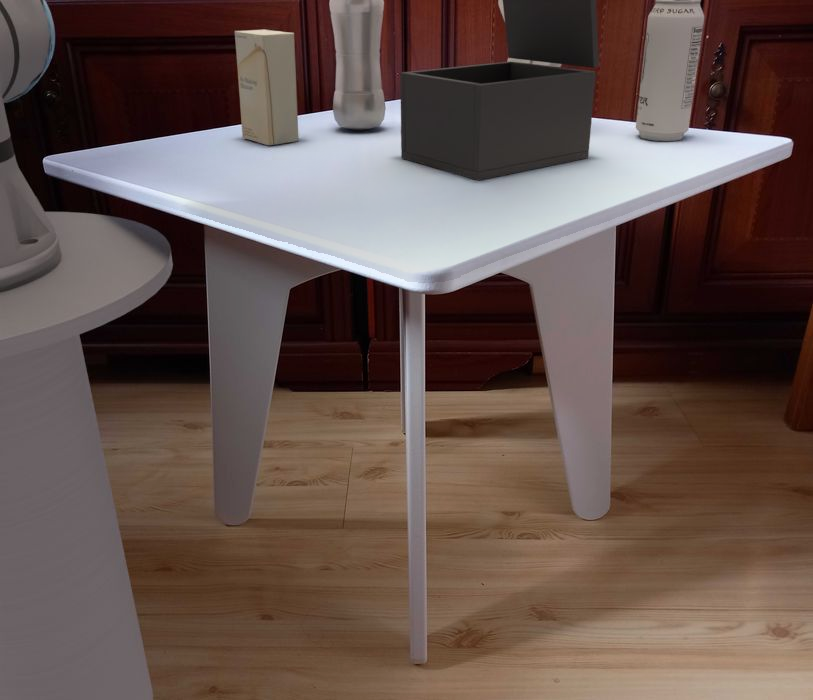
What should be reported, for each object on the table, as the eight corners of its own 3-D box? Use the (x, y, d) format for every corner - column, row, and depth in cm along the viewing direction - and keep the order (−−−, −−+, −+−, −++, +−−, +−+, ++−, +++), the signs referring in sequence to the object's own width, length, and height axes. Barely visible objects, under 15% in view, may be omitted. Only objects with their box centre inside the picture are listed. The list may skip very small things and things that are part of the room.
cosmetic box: (241, 139, 97) (231, 30, 92) (272, 133, 100) (264, 28, 94) (270, 146, 93) (261, 33, 87) (302, 141, 95) (295, 31, 90)
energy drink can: (638, 130, 99) (653, -2, 93) (689, 133, 97) (708, -2, 91) (631, 140, 94) (646, 0, 88) (684, 143, 92) (704, 1, 86)
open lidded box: (478, 180, 78) (481, 85, 74) (401, 158, 87) (400, 72, 83) (588, 158, 86) (596, 71, 82) (507, 139, 95) (510, 61, 91)
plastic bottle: (349, 123, 106) (342, -47, 97) (395, 126, 103) (392, -47, 94) (323, 131, 101) (314, -47, 92) (371, 135, 98) (366, -48, 89)
